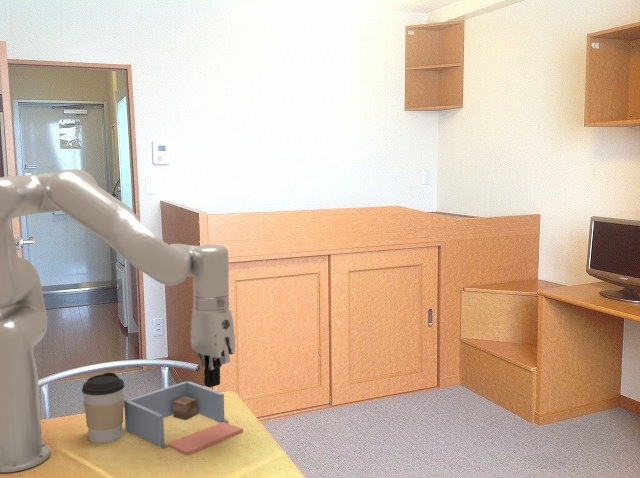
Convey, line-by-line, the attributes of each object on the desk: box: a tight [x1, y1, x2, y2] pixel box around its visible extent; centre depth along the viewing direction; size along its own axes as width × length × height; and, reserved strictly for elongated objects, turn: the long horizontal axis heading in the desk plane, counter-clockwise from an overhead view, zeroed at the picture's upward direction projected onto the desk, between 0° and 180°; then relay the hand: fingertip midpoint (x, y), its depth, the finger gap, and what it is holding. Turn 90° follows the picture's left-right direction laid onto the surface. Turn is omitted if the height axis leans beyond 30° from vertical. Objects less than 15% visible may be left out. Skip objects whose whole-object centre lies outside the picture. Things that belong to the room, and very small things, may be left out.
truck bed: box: [124, 380, 229, 449], centre depth 149 cm, size 18×15×8 cm
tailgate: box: [167, 422, 244, 456], centre depth 142 cm, size 16×1×7 cm
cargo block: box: [172, 396, 198, 421], centre depth 156 cm, size 4×4×4 cm
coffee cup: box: [81, 371, 125, 444], centre depth 144 cm, size 9×9×15 cm
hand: (212, 385), depth 139 cm, fingers closed
